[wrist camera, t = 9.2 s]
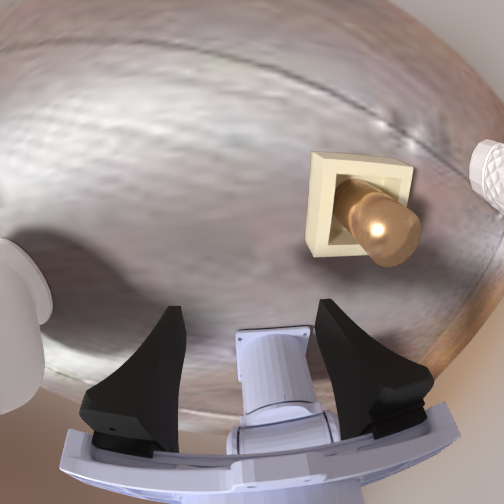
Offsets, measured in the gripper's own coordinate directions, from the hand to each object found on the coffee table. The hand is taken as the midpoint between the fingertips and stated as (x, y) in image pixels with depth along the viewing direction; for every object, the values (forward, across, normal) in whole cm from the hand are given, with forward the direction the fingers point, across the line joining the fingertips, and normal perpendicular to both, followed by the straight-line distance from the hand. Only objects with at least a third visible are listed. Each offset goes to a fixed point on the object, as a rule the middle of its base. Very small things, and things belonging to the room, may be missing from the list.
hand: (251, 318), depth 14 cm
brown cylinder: (+10, -9, -3) cm, 13 cm away
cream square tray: (+10, -9, -3) cm, 14 cm away
